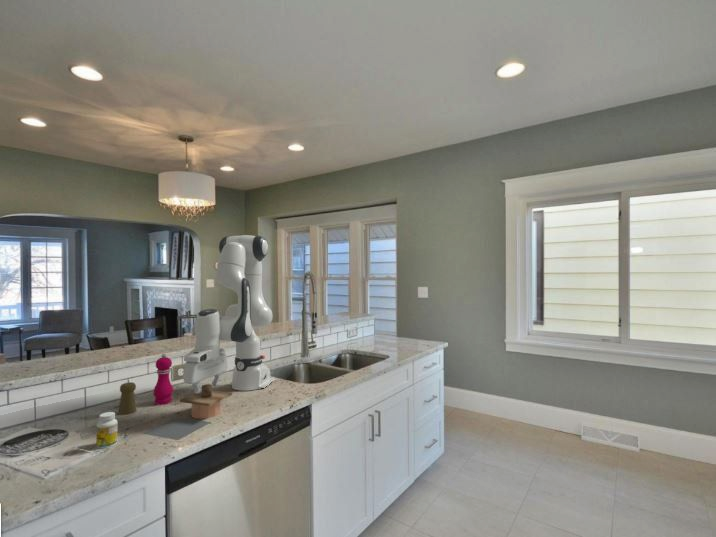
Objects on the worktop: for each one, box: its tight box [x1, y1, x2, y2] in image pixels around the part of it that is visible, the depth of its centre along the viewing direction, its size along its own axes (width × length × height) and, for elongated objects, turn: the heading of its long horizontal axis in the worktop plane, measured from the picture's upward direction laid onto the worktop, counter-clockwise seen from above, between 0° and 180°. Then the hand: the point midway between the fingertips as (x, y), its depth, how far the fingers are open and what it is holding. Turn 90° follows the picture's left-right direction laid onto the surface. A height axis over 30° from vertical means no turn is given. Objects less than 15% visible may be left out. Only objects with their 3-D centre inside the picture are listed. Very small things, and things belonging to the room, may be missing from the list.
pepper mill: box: [152, 353, 174, 406], centre depth 154 cm, size 7×7×20 cm
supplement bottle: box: [95, 411, 119, 449], centre depth 115 cm, size 5×5×10 cm
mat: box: [142, 416, 212, 441], centre depth 127 cm, size 15×15×1 cm
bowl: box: [191, 400, 222, 420], centre depth 141 cm, size 10×10×6 cm
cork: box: [117, 381, 137, 416], centre depth 142 cm, size 6×6×11 cm
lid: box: [179, 383, 233, 406], centre depth 141 cm, size 13×13×5 cm
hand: (206, 389), depth 141 cm, fingers open, 8 cm apart
